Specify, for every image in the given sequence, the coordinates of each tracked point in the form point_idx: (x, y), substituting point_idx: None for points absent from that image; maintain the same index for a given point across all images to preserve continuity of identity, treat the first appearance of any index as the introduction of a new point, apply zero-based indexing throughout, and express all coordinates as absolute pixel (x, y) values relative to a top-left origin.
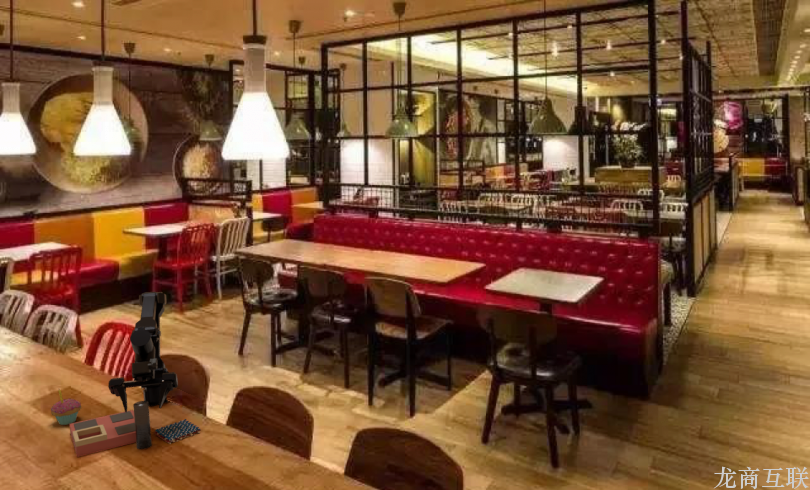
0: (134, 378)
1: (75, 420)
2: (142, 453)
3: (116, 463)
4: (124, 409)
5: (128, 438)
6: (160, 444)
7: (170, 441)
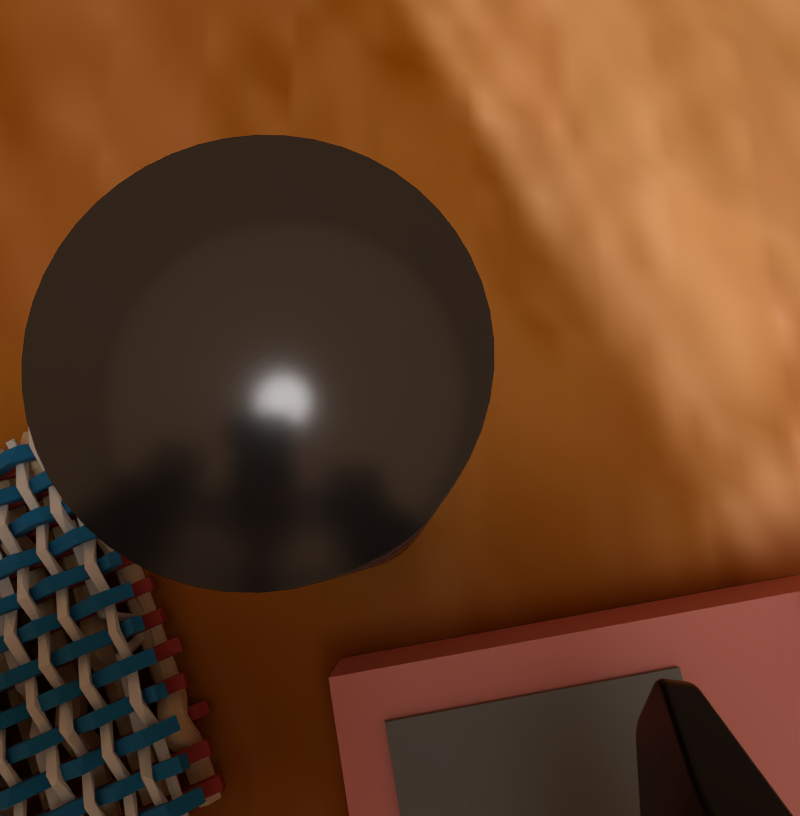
0: None
1: None
2: None
3: (620, 202)
4: (717, 716)
5: (533, 633)
6: None
7: None
